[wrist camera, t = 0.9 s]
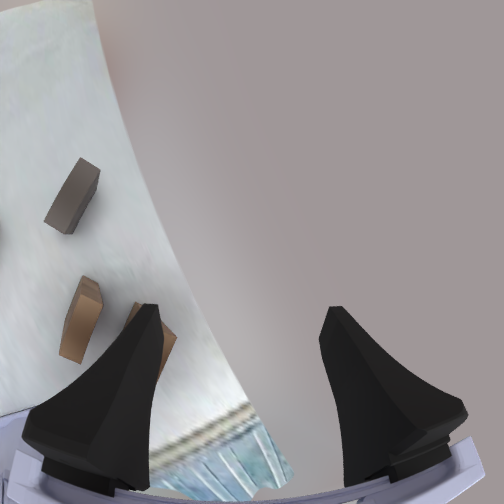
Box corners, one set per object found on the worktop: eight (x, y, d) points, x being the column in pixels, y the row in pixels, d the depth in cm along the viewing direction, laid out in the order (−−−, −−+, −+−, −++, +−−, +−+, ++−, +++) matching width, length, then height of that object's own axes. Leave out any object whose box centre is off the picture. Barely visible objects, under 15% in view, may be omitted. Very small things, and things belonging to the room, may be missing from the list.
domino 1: (80, 326, 21) (80, 364, 14) (65, 319, 20) (58, 354, 13) (97, 283, 22) (103, 305, 15) (82, 275, 21) (80, 293, 14)
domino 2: (132, 348, 24) (153, 390, 17) (117, 342, 23) (133, 383, 16) (150, 308, 25) (177, 337, 18) (135, 301, 24) (156, 328, 17)
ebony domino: (72, 234, 20) (64, 234, 13) (57, 225, 19) (43, 221, 13) (96, 189, 21) (100, 169, 14) (82, 180, 20) (80, 157, 14)
